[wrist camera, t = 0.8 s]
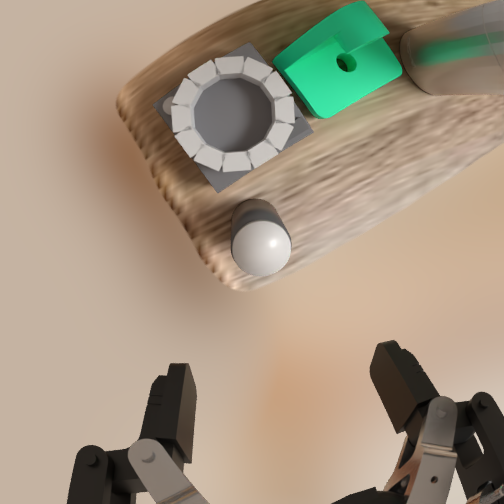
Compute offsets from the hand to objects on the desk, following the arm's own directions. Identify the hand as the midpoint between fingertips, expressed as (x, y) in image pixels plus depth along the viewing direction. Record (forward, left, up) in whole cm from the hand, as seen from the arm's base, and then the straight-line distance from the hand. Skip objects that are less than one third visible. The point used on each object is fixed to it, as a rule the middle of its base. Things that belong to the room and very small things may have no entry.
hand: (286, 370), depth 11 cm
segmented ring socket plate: (+1, -11, -20) cm, 23 cm away
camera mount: (-10, -17, -21) cm, 28 cm away
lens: (0, 0, -20) cm, 20 cm away
